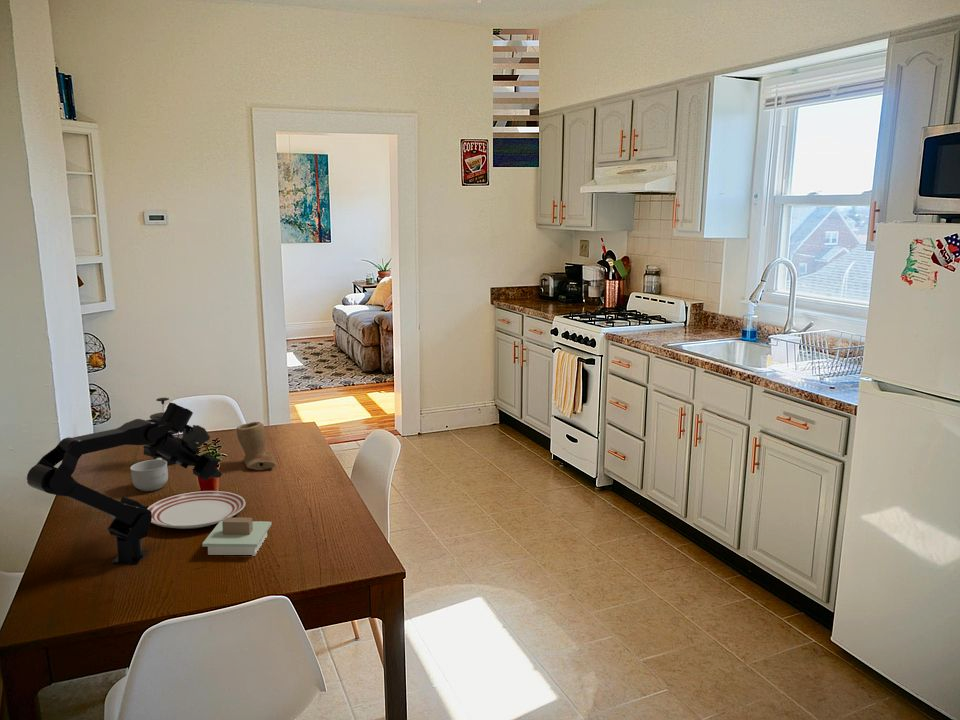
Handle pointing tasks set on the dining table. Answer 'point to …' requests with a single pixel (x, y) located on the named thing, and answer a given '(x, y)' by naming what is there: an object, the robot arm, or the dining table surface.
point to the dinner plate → (195, 509)
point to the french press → (158, 417)
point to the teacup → (149, 474)
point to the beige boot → (254, 446)
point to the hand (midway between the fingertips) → (210, 470)
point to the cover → (237, 533)
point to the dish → (235, 550)
